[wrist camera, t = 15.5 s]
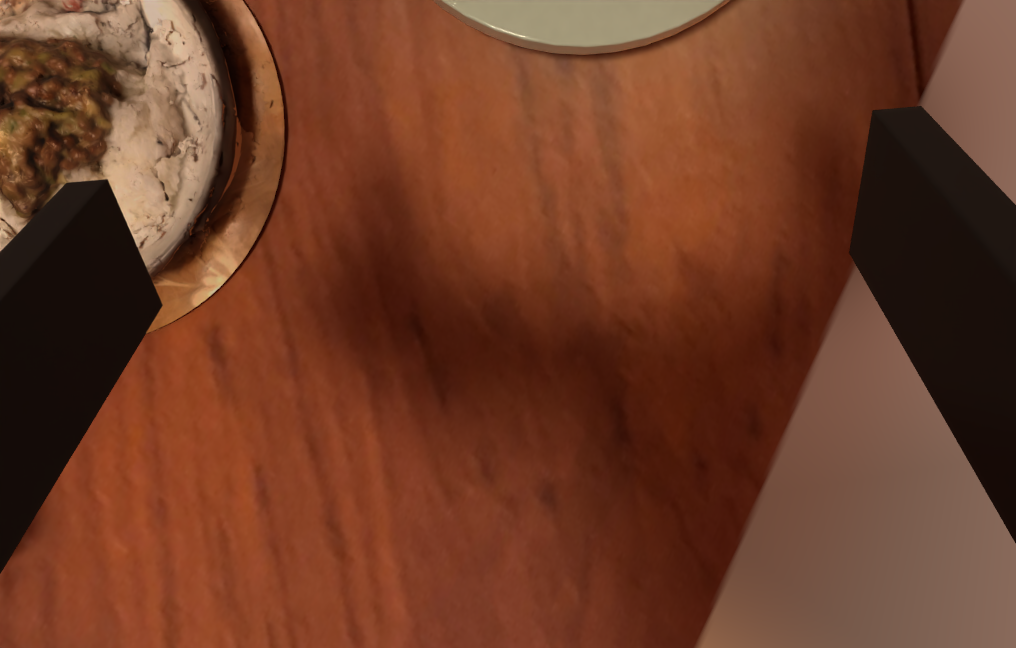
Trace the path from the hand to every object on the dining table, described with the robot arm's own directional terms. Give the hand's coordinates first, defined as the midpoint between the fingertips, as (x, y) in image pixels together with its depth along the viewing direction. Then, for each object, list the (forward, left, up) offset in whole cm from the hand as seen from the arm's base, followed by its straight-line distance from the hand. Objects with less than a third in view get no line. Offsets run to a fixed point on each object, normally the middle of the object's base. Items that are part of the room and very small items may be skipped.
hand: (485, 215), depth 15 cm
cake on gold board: (+15, +3, -14) cm, 21 cm away
